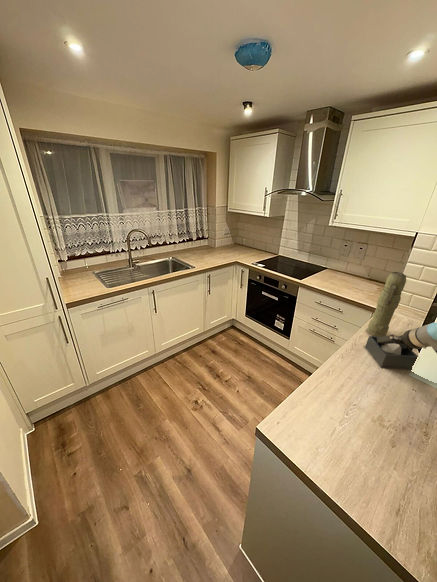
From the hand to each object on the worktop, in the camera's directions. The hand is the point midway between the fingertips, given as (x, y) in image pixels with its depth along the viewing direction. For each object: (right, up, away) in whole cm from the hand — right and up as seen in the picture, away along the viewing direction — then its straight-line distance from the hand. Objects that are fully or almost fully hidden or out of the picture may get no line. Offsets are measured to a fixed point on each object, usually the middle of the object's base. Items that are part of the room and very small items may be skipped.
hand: (388, 345), depth 112 cm
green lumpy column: (+6, +3, +17) cm, 18 cm away
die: (-1, -5, -1) cm, 5 cm away
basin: (-1, -6, -1) cm, 6 cm away
